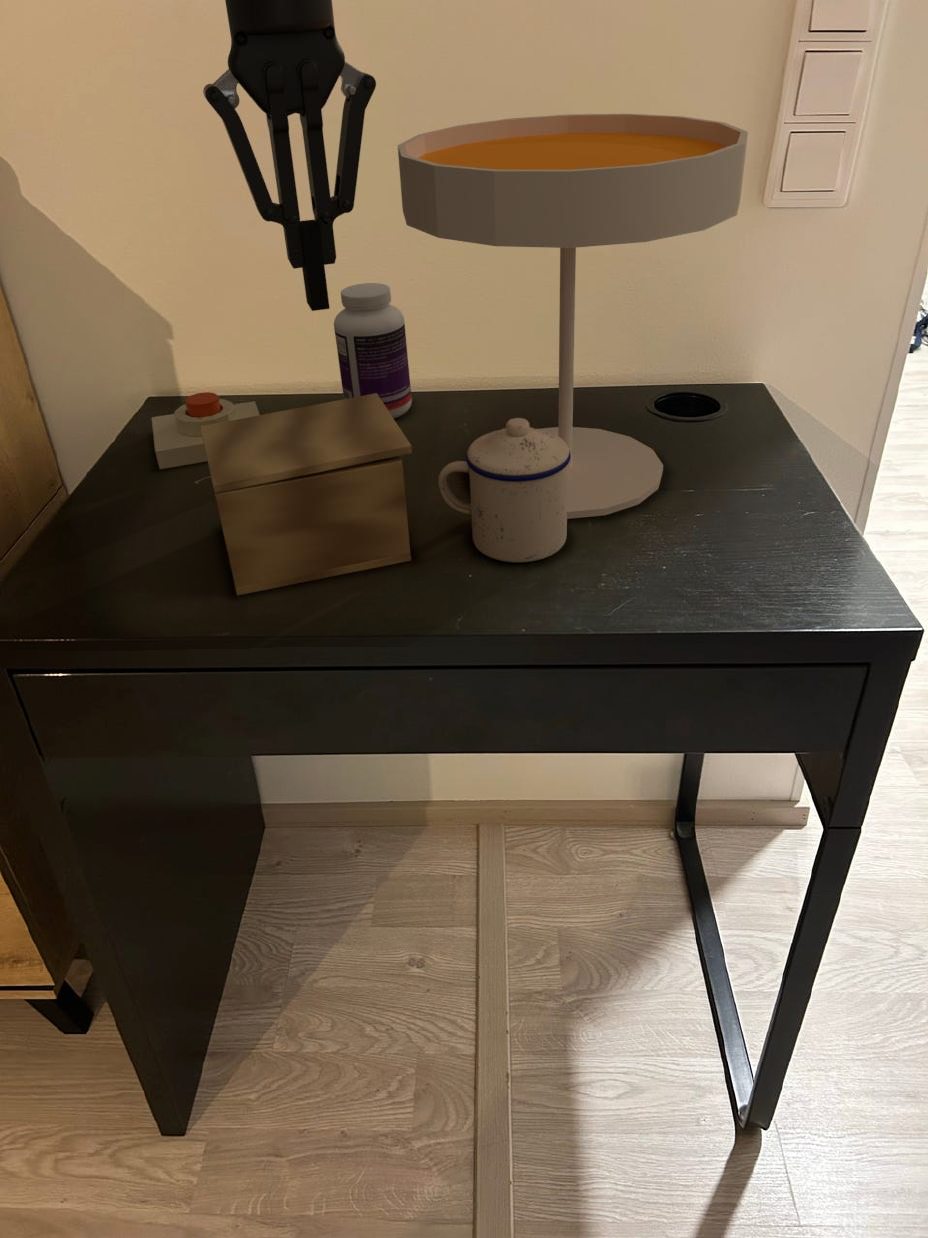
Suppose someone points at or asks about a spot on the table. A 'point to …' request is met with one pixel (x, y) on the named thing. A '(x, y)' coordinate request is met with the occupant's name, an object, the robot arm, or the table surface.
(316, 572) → the lid box
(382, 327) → the pill bottle
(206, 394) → the button
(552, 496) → the teacup with lid
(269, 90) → the robot arm
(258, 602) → the table surface
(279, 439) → the wooden box lid
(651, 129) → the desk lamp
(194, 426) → the button box
